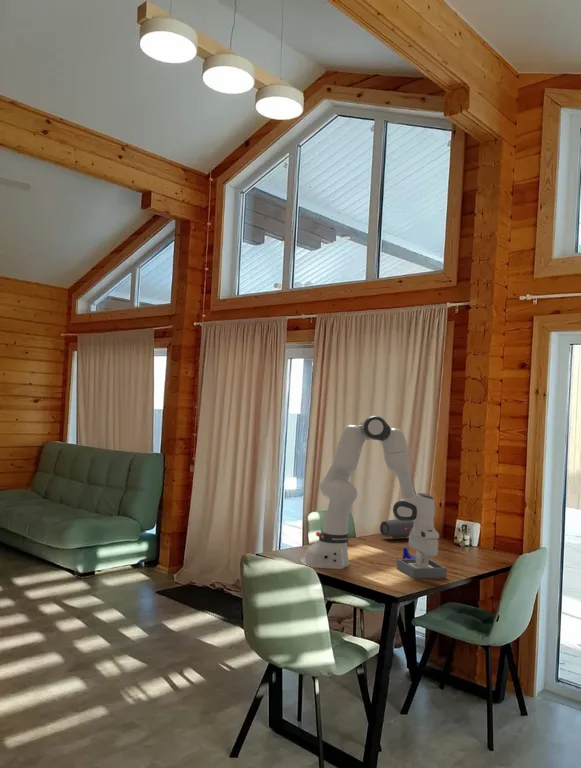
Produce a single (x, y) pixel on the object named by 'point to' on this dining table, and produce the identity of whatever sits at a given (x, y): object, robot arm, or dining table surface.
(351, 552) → the dining table surface
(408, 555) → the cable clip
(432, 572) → the storage box
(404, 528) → the bluetooth speaker
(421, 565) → the connector
